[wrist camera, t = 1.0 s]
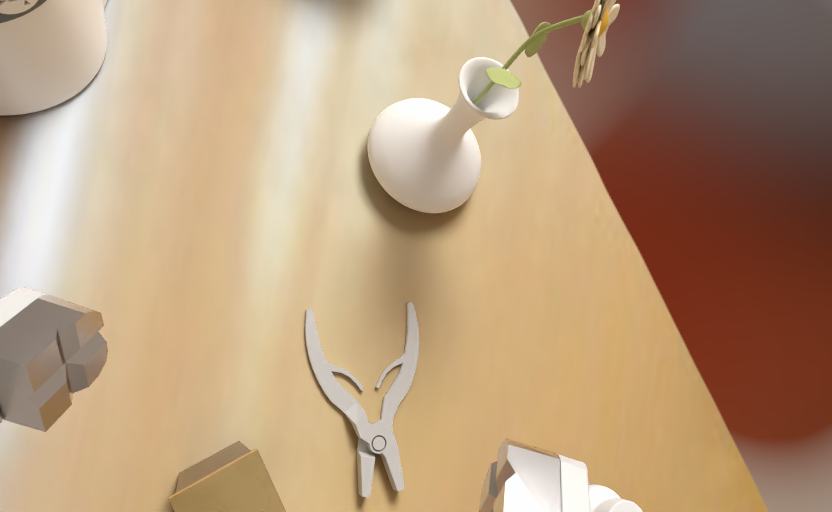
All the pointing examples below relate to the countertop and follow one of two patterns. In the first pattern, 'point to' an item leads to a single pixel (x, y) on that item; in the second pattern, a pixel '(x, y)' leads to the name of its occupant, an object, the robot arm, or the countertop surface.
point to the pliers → (370, 435)
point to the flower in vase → (463, 122)
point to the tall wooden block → (227, 484)
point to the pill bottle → (609, 501)
